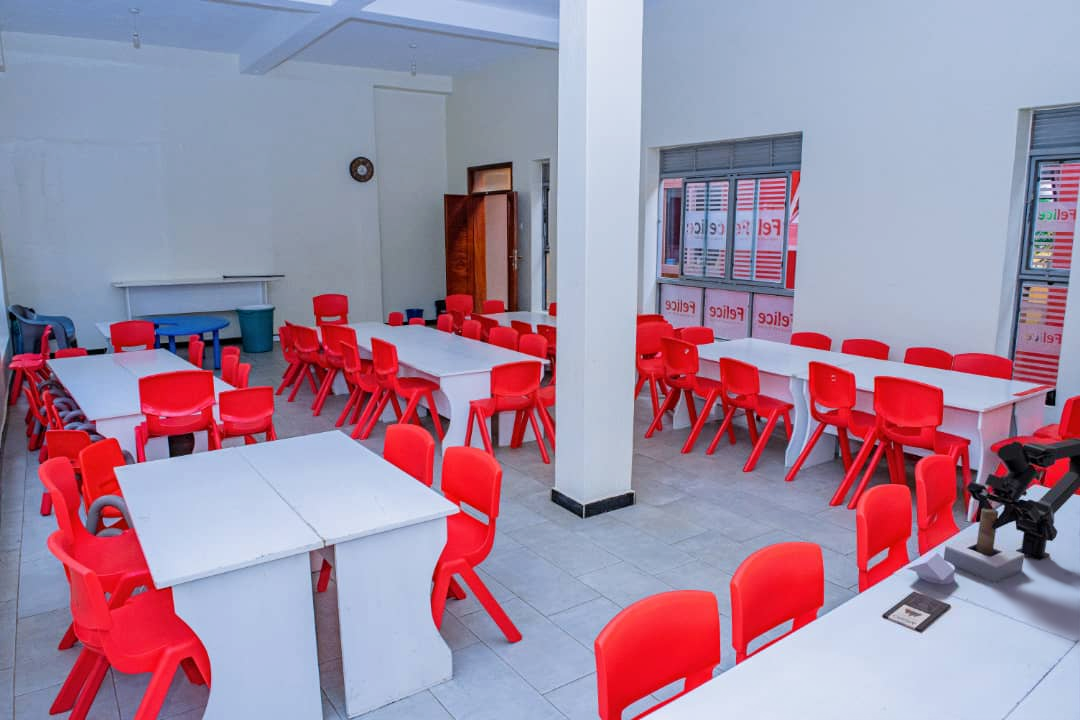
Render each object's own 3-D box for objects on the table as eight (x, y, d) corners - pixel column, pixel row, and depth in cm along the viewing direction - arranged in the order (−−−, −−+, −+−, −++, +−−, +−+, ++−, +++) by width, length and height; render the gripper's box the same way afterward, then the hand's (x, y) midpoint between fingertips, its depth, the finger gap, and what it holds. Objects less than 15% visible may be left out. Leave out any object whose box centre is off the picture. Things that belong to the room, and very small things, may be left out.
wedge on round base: (941, 592, 198) (958, 576, 207) (944, 568, 197) (961, 553, 206) (905, 580, 205) (923, 565, 214) (907, 556, 203) (926, 542, 212)
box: (971, 551, 223) (973, 535, 222) (1021, 571, 211) (1024, 554, 210) (943, 562, 215) (945, 545, 214) (994, 583, 204) (996, 565, 203)
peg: (986, 548, 215) (991, 507, 212) (995, 554, 211) (1001, 513, 208) (972, 548, 214) (978, 508, 212) (982, 555, 210) (987, 513, 208)
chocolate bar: (950, 604, 191) (920, 630, 179) (950, 608, 191) (920, 633, 179) (913, 591, 197) (882, 614, 186) (913, 594, 198) (882, 618, 186)
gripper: (974, 454, 218) (942, 496, 215) (1039, 475, 201) (1005, 521, 199) (990, 477, 222) (958, 518, 220) (1054, 499, 206) (1021, 544, 203)
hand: (984, 525), depth 210 cm, fingers open, 5 cm apart
